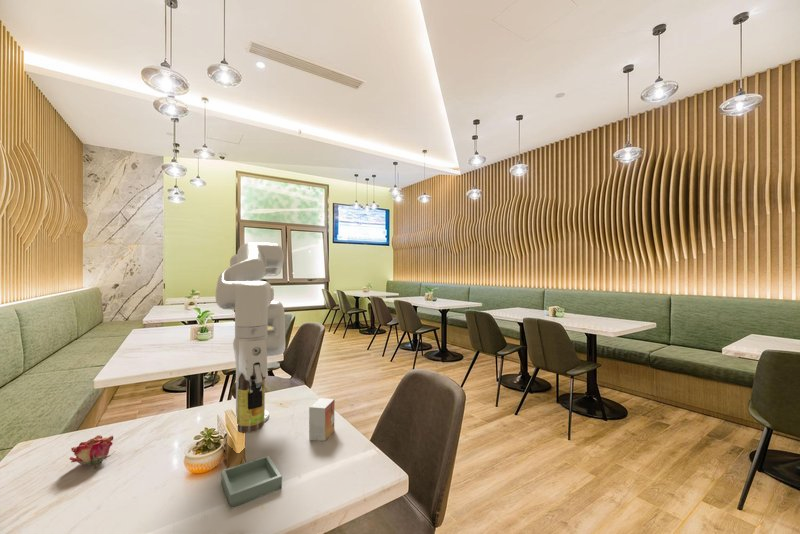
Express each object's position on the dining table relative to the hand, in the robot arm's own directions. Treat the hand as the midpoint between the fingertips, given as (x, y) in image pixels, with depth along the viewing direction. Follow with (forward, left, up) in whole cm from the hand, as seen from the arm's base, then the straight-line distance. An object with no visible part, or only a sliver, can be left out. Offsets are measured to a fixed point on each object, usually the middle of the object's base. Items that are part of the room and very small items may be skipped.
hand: (251, 402), depth 84 cm
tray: (0, 0, -21) cm, 21 cm away
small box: (-13, +25, -21) cm, 35 cm away
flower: (-36, -33, -21) cm, 53 cm away
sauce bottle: (0, 0, -7) cm, 7 cm away
